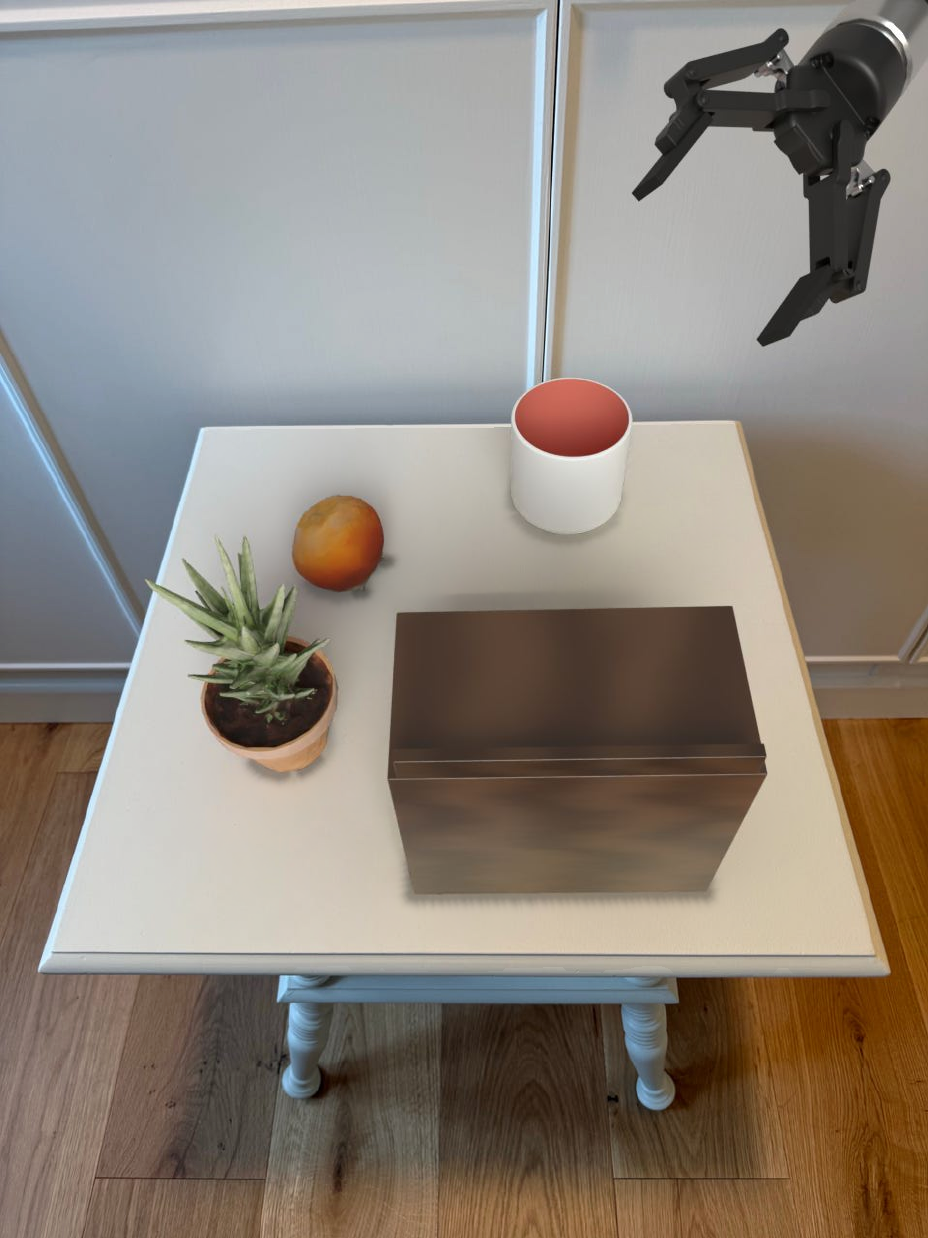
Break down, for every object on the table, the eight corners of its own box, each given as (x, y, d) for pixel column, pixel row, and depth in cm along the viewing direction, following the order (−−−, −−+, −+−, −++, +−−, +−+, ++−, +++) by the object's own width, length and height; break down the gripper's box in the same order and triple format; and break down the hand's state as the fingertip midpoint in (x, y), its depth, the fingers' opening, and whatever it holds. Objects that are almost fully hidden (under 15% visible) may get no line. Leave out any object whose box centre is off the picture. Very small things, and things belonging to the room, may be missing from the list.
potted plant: (226, 805, 68) (109, 606, 48) (225, 696, 73) (120, 476, 53) (361, 784, 68) (302, 578, 48) (350, 677, 74) (293, 453, 54)
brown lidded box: (684, 747, 69) (739, 584, 53) (706, 891, 63) (777, 756, 47) (419, 751, 70) (393, 591, 54) (414, 894, 63) (382, 762, 47)
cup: (643, 508, 83) (658, 425, 75) (555, 558, 80) (560, 477, 72) (574, 445, 88) (581, 361, 80) (489, 490, 85) (487, 407, 77)
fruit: (385, 609, 76) (327, 543, 71) (319, 616, 81) (261, 555, 76) (421, 538, 80) (369, 471, 76) (357, 549, 85) (303, 487, 80)
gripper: (909, 219, 75) (783, 405, 70) (718, -40, 68) (559, 147, 62) (994, 178, 69) (861, 382, 63) (792, -115, 61) (621, 88, 55)
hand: (711, 266), depth 63 cm, fingers open, 13 cm apart
